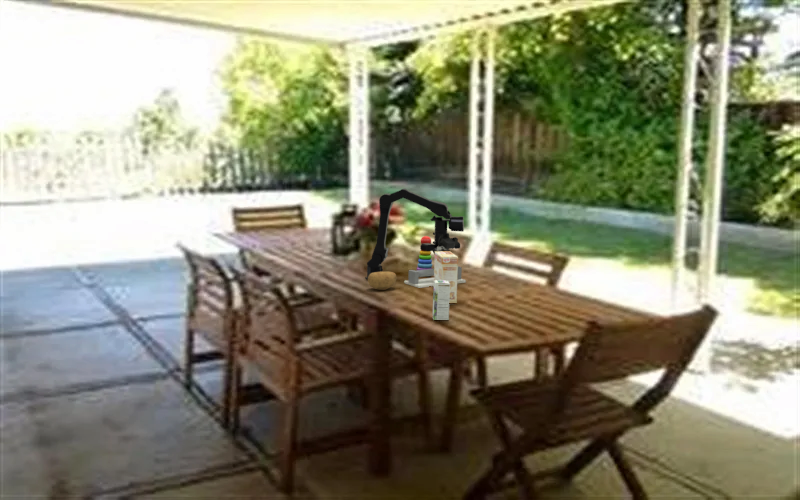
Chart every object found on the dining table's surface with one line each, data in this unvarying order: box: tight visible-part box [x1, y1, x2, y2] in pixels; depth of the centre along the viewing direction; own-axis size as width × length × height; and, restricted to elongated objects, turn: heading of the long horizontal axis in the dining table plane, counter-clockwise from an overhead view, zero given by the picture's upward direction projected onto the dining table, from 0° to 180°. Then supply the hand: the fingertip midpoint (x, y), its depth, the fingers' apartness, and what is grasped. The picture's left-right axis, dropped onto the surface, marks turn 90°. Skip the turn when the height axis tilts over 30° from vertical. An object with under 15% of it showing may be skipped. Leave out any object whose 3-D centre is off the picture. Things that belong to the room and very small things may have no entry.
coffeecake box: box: [433, 250, 459, 303], centre depth 369 cm, size 15×7×20 cm, turn 9°
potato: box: [367, 271, 397, 291], centre depth 390 cm, size 10×14×8 cm
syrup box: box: [432, 280, 450, 321], centre depth 337 cm, size 6×6×14 cm
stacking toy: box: [416, 235, 433, 278], centre depth 423 cm, size 8×8×19 cm
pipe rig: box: [403, 265, 467, 289], centre depth 406 cm, size 26×12×7 cm, turn 123°
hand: (440, 264), depth 407 cm, fingers closed
